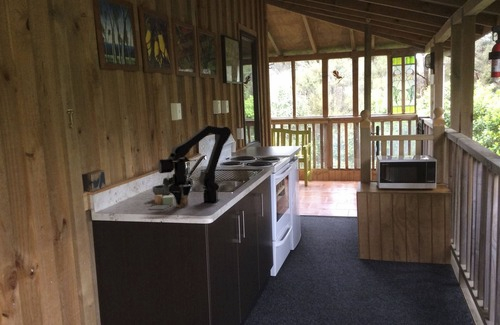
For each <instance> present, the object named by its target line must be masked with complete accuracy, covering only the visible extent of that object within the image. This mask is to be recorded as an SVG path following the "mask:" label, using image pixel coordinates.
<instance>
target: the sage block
mask: <svg viewBox="0 0 500 325" xmlns="http://www.w3.org/2000/svg"><path fill="white" fill-rule="evenodd" d="M174 204H175V196H174V195H173V194H169V195H168V196H163V204H162V205H170V206H174Z"/></svg>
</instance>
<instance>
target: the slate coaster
mask: <svg viewBox="0 0 500 325" xmlns="http://www.w3.org/2000/svg"><path fill="white" fill-rule="evenodd" d="M170 207H171V205H163V204H161V205H155V204H154V205H152V206H150V207H149V208H148V211H165V210H167V209H168V208H170Z"/></svg>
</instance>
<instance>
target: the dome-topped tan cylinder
mask: <svg viewBox="0 0 500 325" xmlns="http://www.w3.org/2000/svg"><path fill="white" fill-rule="evenodd" d="M153 196H154V205H163V198H162V195H155V194H153Z"/></svg>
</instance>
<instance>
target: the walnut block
mask: <svg viewBox="0 0 500 325" xmlns="http://www.w3.org/2000/svg"><path fill="white" fill-rule="evenodd" d="M188 197H189V195H182V199H181V203H180V205H178V204H177V201H176V200H175V207H176V208H185V207H188V206H189V198H188Z"/></svg>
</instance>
